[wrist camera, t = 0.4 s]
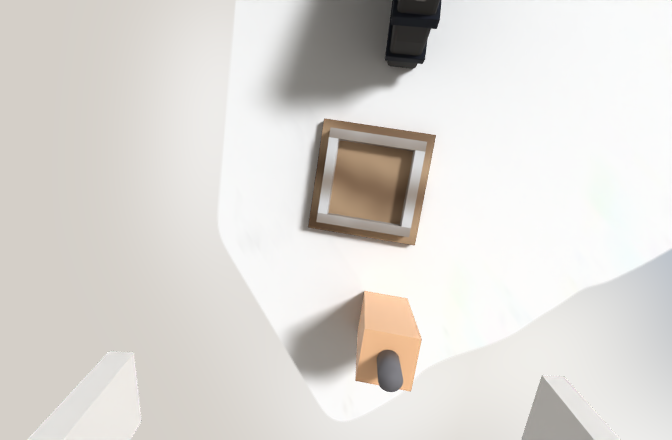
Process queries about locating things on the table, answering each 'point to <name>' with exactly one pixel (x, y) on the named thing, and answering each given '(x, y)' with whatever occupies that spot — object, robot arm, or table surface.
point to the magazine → (410, 31)
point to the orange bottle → (387, 342)
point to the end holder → (370, 181)
